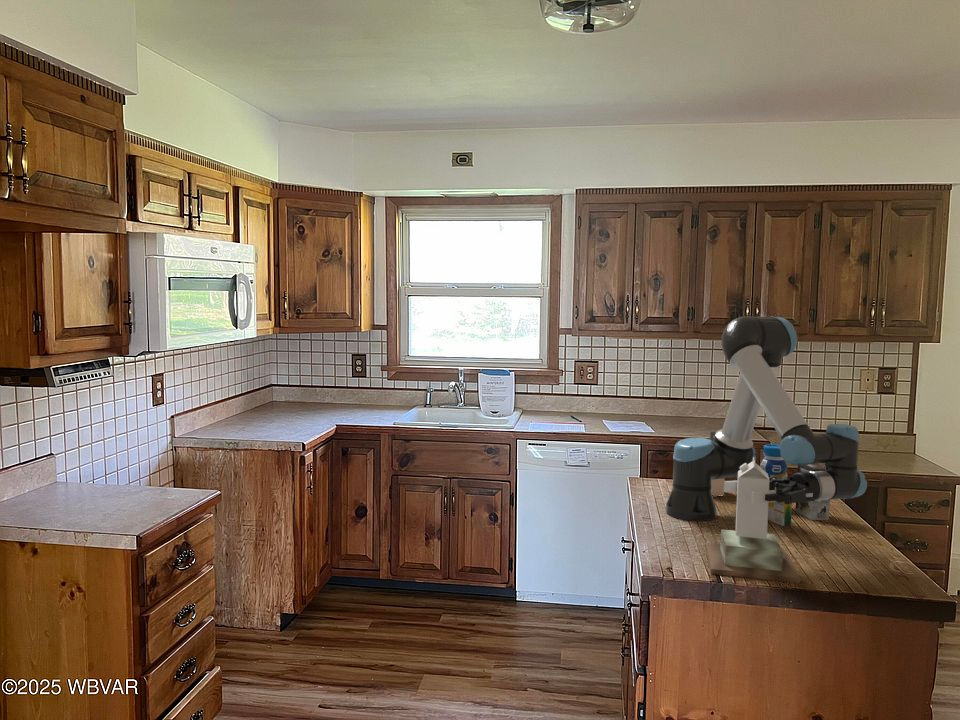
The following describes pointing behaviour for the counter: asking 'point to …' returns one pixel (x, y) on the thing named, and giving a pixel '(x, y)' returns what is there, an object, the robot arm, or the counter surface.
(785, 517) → the crayon box
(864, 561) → the counter surface
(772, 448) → the beverage bottle
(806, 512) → the coffee box
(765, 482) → the milk carton
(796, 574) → the tower base
